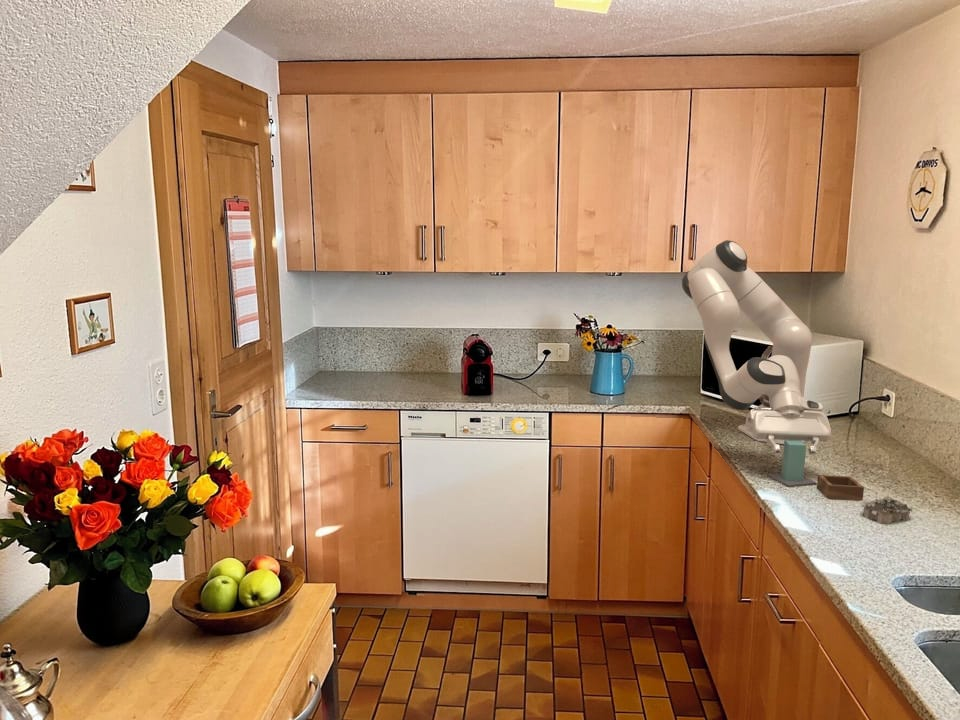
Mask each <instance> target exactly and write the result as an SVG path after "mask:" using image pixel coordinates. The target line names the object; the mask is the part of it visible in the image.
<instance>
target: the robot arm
mask: <svg viewBox="0 0 960 720" xmlns="http://www.w3.org/2000/svg"><path fill="white" fill-rule="evenodd" d="M681 288H682V289H683V291H684V293H685V294H686V296H687V297H689V299H691V300H693V304H694V306H695V307H696V310H697V311H698V312H697V313H698V314H699V316H700V319H701V322H702V325H703V334H704V335H703V340H704V344H705V348H706V350H707V354H708V358H709V360H710V362H711V366H712V368H713V370H714V373H715V375H716V378H717V382H718V389H719V393H720V397H721V400H722V401H723V402H724V403H725V405H726V406H728V407H730V408H731V409H734V410H737V411H745V410H748V409H749V408H751V407H752V405H753V404H754V403H755V402H756V401H757V400H758V399H759V398H761V399H762V402H761V404H759V405H758V406H756V407H754V408H752V409H750V410H749V412H748V413H747V414H746V418H745V423H744V424H743V423H742V424H740V425H738V426H737V430H738V431H739V432H741V433H744V434H745V435H747V436H749V437H750V438H752V439H753V440H754V441H758V442H766V443H767V444H768V445H769V447H771V448H772V453H774V454H780V452H781V448H780V447H781V446H780V445H784V440H793V441H802V442H803V443H804V444H805V442H810V443H811V445H810V446H809V448H807V449H808V454H809V455H810V456H811V455H814V456H815V455H816V454H817V445H818V443H820V442H821V443H822V442H823V443H824V442H827V441H828V440H829V439H830V438H831V436H832V428H831V425H830V421H829V419H828V416H827V414H826V413H824V411H823V409H824V406H823V404H822V403H821V402H819V401H814V400H811V399H809V398H807V397H806V398H805V388H806V387H805V386H806V377H807V372H808V366H809V362H810V355H811V350H812V344H813V333H812V332H811V330H810V328H809V327H808V325H806V324H805V323H804V321H802V320H801V319H800V318H799V317H798V315H797V314H796V313H795V312H794V311H793V310H791V308H790V307H789V306H788V305H787V304H786V303H785V302H784V301H783V299H782V298H780V296H778V294H777V293H776V292H775V291H774V290H773V289H772V288H771V287H770V286H769V285H768V284H767V283H766V282H765V281H764V280H763V278H761V276H759V274H757V272H755V271H754V270H752V268H750V267H749V266H748V256H747V252H746V251H745V249H744V248H743V247H742V246H741V245H740V244H739V243H737V242H735V241H733V240H728V239H727V240H723V241H722V242H720V243H719V244H717V245H716V247H714V248H713V249H711V250H709V252H707V253H706V254H705V255H703V256H702V257H700V259H699V260H698V261H697V262H696V263H695V265H694V266H692V268H691V269H690V270H687V272H686V273H685V274H684V275H683V277H682V279H681ZM741 312H742V313H743V314H744V315H745V316H746V317H747V318H748V319H749V320H750V321H751V323H753V324H754V325H755V327H757V328H758V329H759V330H760V331H761V332H762V333H763V334H764V335H765V336H766V337H767V338H768V340H770V341H771V343H772V350H771V356H770V357H768V358H764V357H759V356H758V357H757V356H755V357H750V358H749V360H747V361H746V362H745V363H744V364H742V366H741V367H740V368H739V369H738V370H737V368H736V365H735V363H734V360H733V358H732V355H731V351H730V342H731V338H732V335H733V333H734V330H735V328H736V326H737V325H738V323H739V320H740V316H741V315H740V314H741Z"/></svg>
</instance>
